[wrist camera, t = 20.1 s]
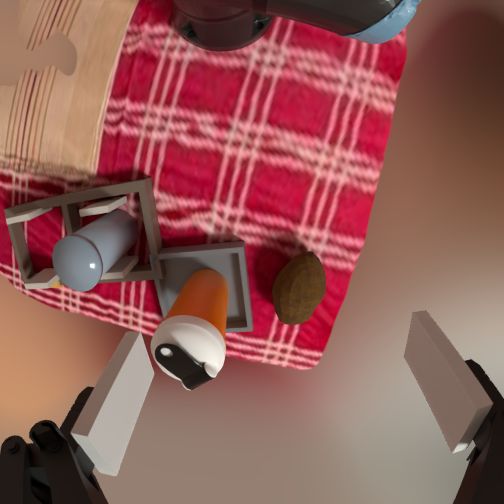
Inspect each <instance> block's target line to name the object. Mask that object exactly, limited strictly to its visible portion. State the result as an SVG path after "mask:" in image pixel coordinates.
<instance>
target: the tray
mask: <svg viewBox="0 0 504 504" xmlns="http://www.w3.org/2000/svg"><path fill="white" fill-rule="evenodd" d="M151 256H152V255H149V258H150V263H151V268H152V270H153V271H152V272H153V273H154V274H153V277H154V281H155V285H156V290H157V294H158V298H159V302H160V306H161V310H162V314H163V318H164V319H165V317H166V315H167V314H168V312H169V310H170V309H171V307H172V305H173V303H174V302H175V300H176V298H177V297H178V295H179V293H180V292H181V290H182V288H183V287H184V285H185V283H186V281H187V280H188V278H189V277H190V276H191V275H192V274H193V273H194V272H196V271H198V270H202V269H210V270H214V271H216V272H218V273H220V274H221V275H222V276H223V277H224V278H225V279H226V281H227V283H228V286H229V297H228V308H227V320H226V332H225V333H229V332H246V331H253V315H252V306H251V297H250V288H249V279H248V271H247V262H246V253H245V244H244V241H235V242H224V243H212V244H201V245H190V246H179V247H169V248H163V249H162V250H161V251H160V253H159V254H158V255H156V257H157V256H158V258H159V259H164V263H165V268H166V273H167V274H166V275H165V277H164V278H163V279H159V278H158V275H157V274H158V273H157V270H156V266H155V269H154V266H153V264H154V263H153V260H154V262H155V260H156V259H157V258H156V257H155V256H154V255H153V257H155V258H156V259H155V258H154V259H153V260H152V259H151ZM159 259H158V260H159ZM152 263H153V264H152ZM154 265H156V264H154ZM156 275H157V276H156Z"/></svg>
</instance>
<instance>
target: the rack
mask: <svg viewBox="0 0 504 504" xmlns="http://www.w3.org/2000/svg"><path fill="white" fill-rule="evenodd" d="M134 192H139V196H140V202H141V208H142V213H143V219H144V224H145V230H146V235H147V240H148V245H149V250H150V255H152V256H151V259H152V260H153V259H154V258H155V257H156V255H158V254H159V253H160V251H161V250H162V249H163V245H162V239H161V234H160V228H159V223H158V217H157V211H156V205H155V199H154V193H153V186H152V179H151V177H149V178H143V179H137V180H131V181H125V182H120V183H114V184H109V185H104V186H98V187H93V188H88V189H83V190H79V191H74V192H69V193H65V194H60V195H56V196H51V197H47V198H43V199H39V200H34V201H30V202H26V203H22V204H19V205H15V206H12V207H9V208H7V209H4V212H5V216H6V221H7V225H8V229H9V233H10V237H11V241H12V245H13V248H14V252H15V256H16V259H17V262H18V266H19V269H20V272H21V275H22V278H23V281H24V285H25V288H26V289H41V288H57V287H62V286H63V285H65V284H64V283H63V282H62V281H61V280H60V278H59V277H58V275H57V274H56V271H55V269H54V268H48V269H43V270H42V271H41V272H39V273H35V272H34V268H33V265H32V262H31V258H30V255H29V251H28V247H27V244H26V240H25V236H24V232H23V228H22V224H21V221H26V220H30V219H32V218H35V217H37V216H39V215H41V214H43V213H45V212H48V211H50V210H52V207H57V206H61V207H62V212H63V217H64V221H65V226H66V230H67V235H71V234H73V233H75V232H77V231H78V230H80V229H81V224H80V219H79V215H78V210H77V205H76V203H77V202H82V201H87V200H93V199H98V198H104V197H110V196H116V195H122V194H128V193H134ZM126 202H127V197H126V196H122V197H116V198H110V199H105V200H99V201H97V202H95V203H93V204H91V205H89V206H87V207H85V208H83V209H81V210H79V213H80V217H83V216H89V215H95V214H101V213H108V212H110V211H112V210H114V209H116V208H117V207H119V206H121V205H123V204H125V203H126ZM153 255H154V256H155V257H153ZM156 258H157V259H156ZM156 258H155V259H156V260H155V262H154V260H153V263H154V264H156V265H154V264H153V263H152V264H153V266H154V269H155V266H156V270H157V273H158V274H157V275H158V278H159V279H163V278H164V277H165V275H166V274H167V273H166V268H165V263H164V259H159V258H158V256H157V257H156ZM158 259H159V260H158ZM138 261H139V258H138V255H133V256H122V257H121V258H120V259H119V260H118V261H117V262H116V263H115V264H114V265H113V266H112V267H111V268H110V269H109V270H108V271H107V272H106V273H105V274H104V275H103V276H102V277H101V279H100V281H99V282H98V283H109V282H126V281H142V280H154V277H153V274H154V273H153V272H152V271H153V270H152V268H151V264H141V265H136V264H137V262H138ZM157 275H156V276H157Z"/></svg>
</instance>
